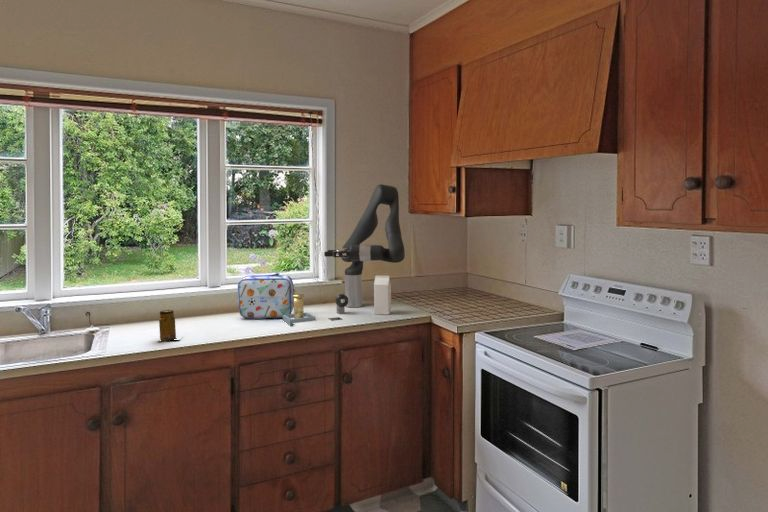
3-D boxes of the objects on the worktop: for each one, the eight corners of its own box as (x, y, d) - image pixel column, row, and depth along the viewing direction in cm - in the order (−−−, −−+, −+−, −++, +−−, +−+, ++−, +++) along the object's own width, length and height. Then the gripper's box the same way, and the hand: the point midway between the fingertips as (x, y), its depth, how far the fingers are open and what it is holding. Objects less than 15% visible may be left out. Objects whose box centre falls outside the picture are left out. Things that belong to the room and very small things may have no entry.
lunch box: (297, 314, 262) (296, 270, 260) (295, 319, 251) (294, 273, 249) (241, 316, 260) (239, 272, 258) (237, 320, 250) (235, 274, 248)
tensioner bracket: (317, 317, 253) (317, 294, 252) (344, 314, 259) (344, 292, 258) (331, 325, 237) (330, 300, 236) (359, 321, 243) (359, 297, 242)
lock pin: (292, 319, 245) (291, 294, 244) (302, 318, 247) (301, 293, 246) (295, 321, 240) (294, 296, 239) (306, 320, 243) (305, 294, 241)
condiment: (161, 338, 218) (159, 309, 216) (182, 337, 219) (181, 308, 218) (157, 342, 210) (155, 313, 209) (179, 341, 212) (177, 312, 211)
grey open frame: (282, 321, 247) (282, 315, 246) (307, 318, 252) (307, 312, 252) (290, 326, 236) (289, 319, 236) (315, 323, 241) (315, 316, 241)
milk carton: (388, 315, 258) (387, 276, 256) (374, 314, 259) (373, 276, 257) (391, 312, 265) (390, 274, 263) (377, 311, 266) (376, 274, 264)
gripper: (362, 243, 248) (328, 244, 249) (359, 245, 233) (323, 246, 234) (362, 259, 248) (328, 259, 249) (359, 262, 234) (323, 262, 235)
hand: (326, 253), depth 242 cm, fingers open, 8 cm apart
